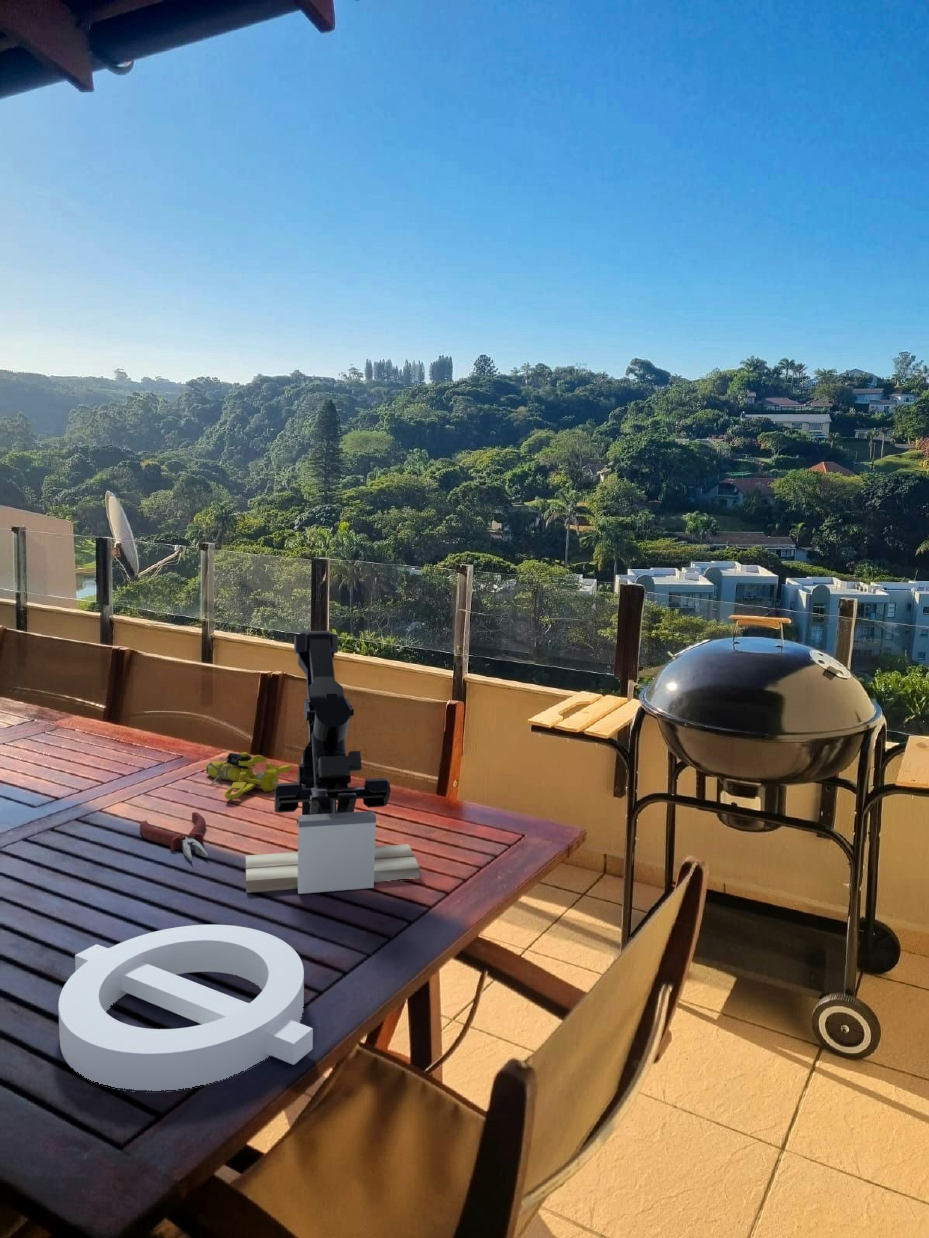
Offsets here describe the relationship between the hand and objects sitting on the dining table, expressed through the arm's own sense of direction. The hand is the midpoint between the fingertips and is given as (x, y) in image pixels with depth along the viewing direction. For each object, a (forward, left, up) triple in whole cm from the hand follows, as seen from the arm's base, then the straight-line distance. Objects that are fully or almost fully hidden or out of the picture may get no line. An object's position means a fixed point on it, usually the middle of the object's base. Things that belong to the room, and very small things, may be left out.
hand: (335, 843), depth 141 cm
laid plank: (-4, -4, -7) cm, 9 cm away
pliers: (+2, -36, -8) cm, 37 cm away
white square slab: (0, 0, -7) cm, 7 cm away
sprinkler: (-27, -49, -8) cm, 57 cm away
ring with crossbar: (+37, +7, -8) cm, 39 cm away
